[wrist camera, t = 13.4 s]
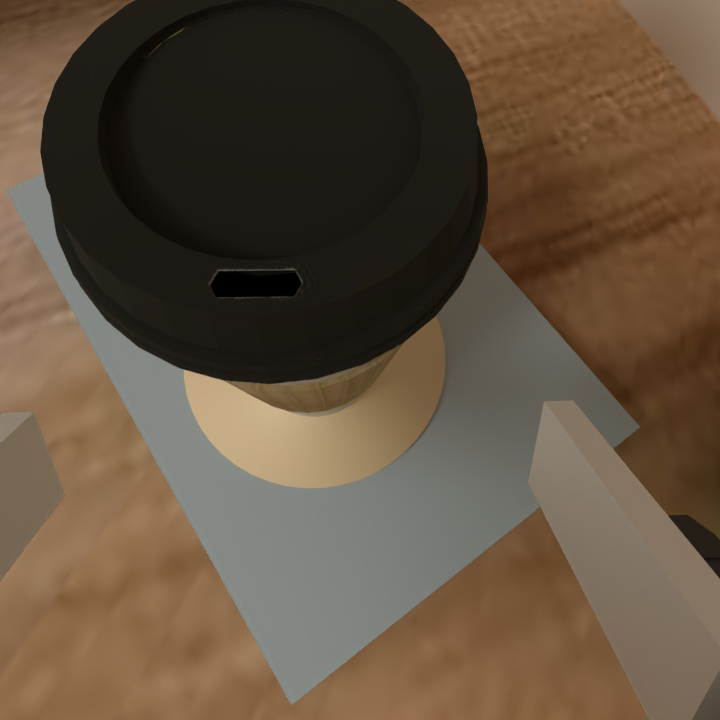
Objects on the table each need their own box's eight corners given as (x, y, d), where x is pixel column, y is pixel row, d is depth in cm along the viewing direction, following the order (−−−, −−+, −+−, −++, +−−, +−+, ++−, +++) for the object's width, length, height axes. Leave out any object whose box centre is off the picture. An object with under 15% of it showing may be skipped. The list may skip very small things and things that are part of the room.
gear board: (20, 204, 28) (-69, 120, 22) (313, 59, 32) (305, -46, 26) (294, 694, 20) (272, 766, 15) (633, 426, 24) (723, 397, 18)
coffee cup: (408, 265, 25) (485, -55, 11) (419, 453, 22) (547, 349, 8) (221, 267, 25) (50, -59, 11) (207, 458, 22) (-55, 359, 8)
